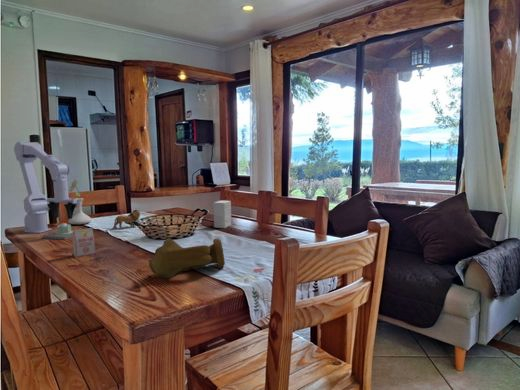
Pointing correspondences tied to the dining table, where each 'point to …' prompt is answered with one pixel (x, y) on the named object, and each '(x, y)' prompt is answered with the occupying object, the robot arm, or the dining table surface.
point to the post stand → (59, 236)
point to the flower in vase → (78, 208)
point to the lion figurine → (127, 219)
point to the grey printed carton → (83, 242)
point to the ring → (64, 229)
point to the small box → (222, 214)
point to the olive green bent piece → (184, 257)
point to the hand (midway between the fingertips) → (63, 218)
